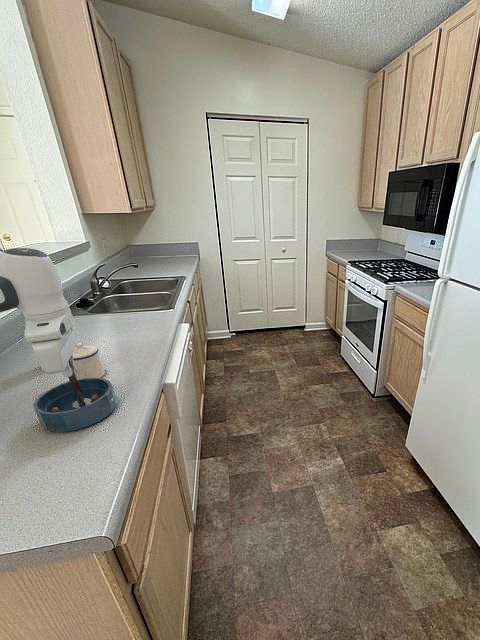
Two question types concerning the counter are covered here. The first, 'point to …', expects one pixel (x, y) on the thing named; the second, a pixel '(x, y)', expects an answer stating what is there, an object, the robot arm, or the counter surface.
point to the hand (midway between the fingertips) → (70, 372)
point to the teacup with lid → (87, 362)
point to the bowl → (65, 398)
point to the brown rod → (77, 391)
